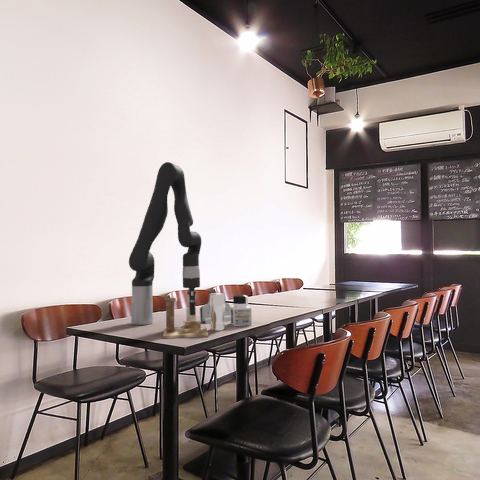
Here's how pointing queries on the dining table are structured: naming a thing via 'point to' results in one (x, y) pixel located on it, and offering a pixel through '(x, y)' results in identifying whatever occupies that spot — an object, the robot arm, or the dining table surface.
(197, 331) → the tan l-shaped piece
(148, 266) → the robot arm
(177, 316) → the dining table surface
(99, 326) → the dining table surface
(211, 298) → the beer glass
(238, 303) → the container
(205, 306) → the card swipe reader
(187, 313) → the brushed grey block
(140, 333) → the dining table surface
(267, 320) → the dining table surface
